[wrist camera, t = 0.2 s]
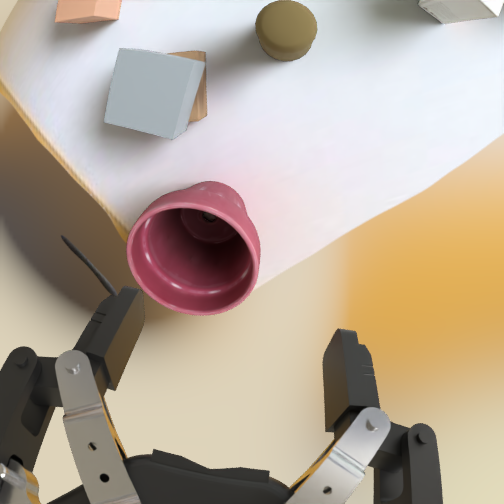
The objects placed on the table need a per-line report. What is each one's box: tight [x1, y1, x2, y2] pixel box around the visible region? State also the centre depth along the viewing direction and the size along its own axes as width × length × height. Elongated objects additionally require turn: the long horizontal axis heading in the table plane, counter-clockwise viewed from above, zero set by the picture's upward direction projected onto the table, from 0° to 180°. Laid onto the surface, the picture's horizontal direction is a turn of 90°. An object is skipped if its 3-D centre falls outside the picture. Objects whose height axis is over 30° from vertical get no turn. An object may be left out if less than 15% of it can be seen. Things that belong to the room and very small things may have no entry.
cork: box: [255, 0, 317, 61], centre depth 24 cm, size 6×6×11 cm
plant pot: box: [126, 181, 260, 315], centre depth 37 cm, size 14×14×13 cm
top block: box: [104, 48, 206, 140], centre depth 28 cm, size 8×8×4 cm
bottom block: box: [169, 51, 207, 122], centre depth 31 cm, size 8×8×4 cm
